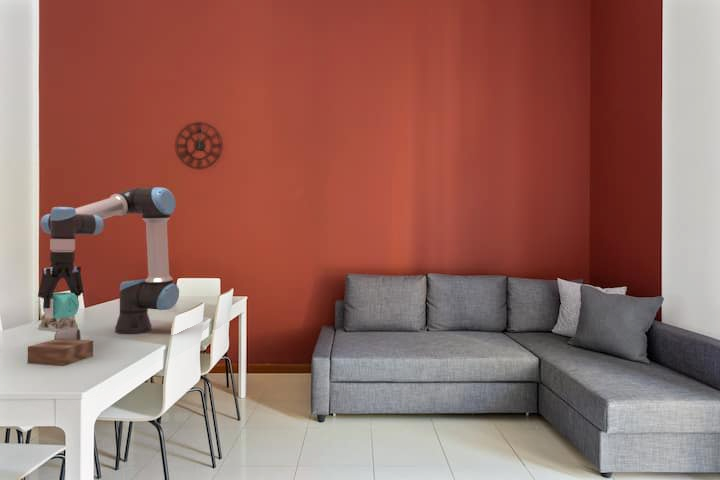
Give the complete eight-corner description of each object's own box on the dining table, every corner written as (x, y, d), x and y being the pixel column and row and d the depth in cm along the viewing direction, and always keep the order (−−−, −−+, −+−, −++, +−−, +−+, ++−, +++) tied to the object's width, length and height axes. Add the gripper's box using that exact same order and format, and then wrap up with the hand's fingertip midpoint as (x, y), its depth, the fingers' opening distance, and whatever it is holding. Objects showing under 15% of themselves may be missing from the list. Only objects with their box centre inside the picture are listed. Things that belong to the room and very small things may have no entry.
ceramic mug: (58, 346, 198) (58, 327, 198) (80, 345, 201) (81, 326, 201) (51, 353, 189) (51, 333, 188) (75, 351, 191) (75, 332, 191)
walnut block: (58, 354, 187) (59, 338, 187) (92, 357, 184) (93, 340, 184) (27, 364, 173) (27, 346, 173) (63, 366, 171) (63, 349, 171)
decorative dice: (79, 315, 182) (79, 292, 182) (63, 318, 174) (64, 295, 174) (58, 314, 183) (58, 292, 183) (42, 317, 175) (42, 294, 175)
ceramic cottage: (41, 326, 238) (42, 294, 237) (81, 326, 243) (82, 295, 243) (31, 334, 224) (33, 300, 223) (73, 334, 229) (75, 301, 228)
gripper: (80, 250, 190) (78, 311, 190) (25, 251, 169) (24, 319, 169) (95, 251, 187) (94, 312, 188) (42, 252, 167) (41, 321, 167)
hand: (61, 315), depth 178 cm, fingers closed on decorative dice, 9 cm apart
